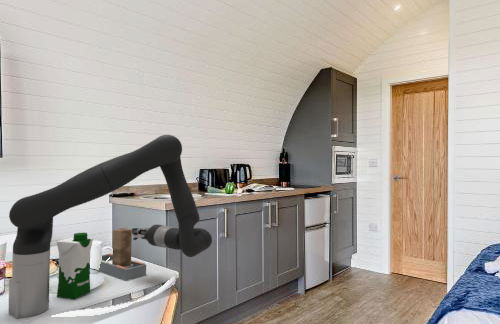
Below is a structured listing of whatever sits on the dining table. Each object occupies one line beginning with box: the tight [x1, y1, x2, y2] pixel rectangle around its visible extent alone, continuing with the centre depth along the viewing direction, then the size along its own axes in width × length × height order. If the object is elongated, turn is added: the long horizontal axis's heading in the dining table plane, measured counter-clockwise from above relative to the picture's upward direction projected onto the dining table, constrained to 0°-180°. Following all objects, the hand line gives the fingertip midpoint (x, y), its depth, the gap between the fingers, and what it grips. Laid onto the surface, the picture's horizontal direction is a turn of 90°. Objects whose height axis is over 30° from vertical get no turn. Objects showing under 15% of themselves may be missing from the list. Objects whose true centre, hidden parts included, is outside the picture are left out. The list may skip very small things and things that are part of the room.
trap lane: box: [98, 253, 147, 282], centre depth 140 cm, size 9×26×4 cm, turn 53°
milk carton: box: [56, 232, 94, 301], centre depth 114 cm, size 9×9×20 cm
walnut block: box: [112, 227, 133, 267], centre depth 138 cm, size 5×5×14 cm
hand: (133, 230), depth 134 cm, fingers closed
